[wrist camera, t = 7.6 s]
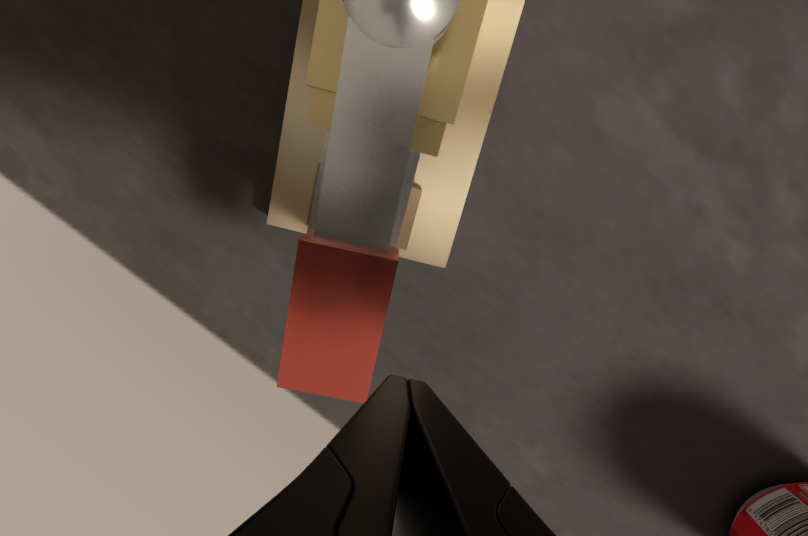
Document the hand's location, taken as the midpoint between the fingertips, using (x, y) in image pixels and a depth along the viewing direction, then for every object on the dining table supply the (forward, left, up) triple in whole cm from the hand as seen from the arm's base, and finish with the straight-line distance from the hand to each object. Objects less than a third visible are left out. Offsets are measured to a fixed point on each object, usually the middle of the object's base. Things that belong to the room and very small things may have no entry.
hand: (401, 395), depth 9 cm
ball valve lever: (-4, -2, -4) cm, 6 cm away
